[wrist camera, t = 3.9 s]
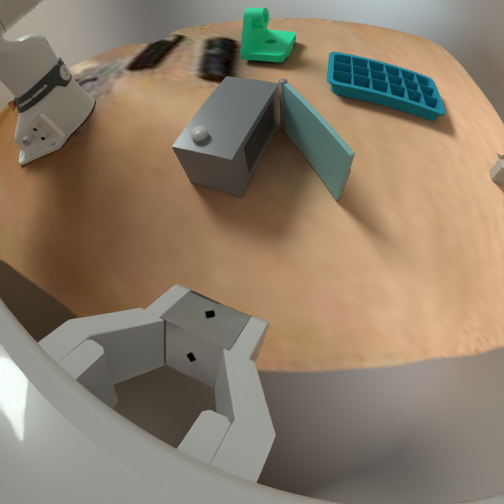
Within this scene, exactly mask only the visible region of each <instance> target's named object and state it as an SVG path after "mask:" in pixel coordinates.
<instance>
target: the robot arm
mask: <svg viewBox="0 0 504 504" xmlns="http://www.w3.org/2000/svg"><path fill="white" fill-rule="evenodd" d="M43 1H44V0H0V81H2V82H3V84H4V85H5V86H6V87H7V88H8V89H9V90H10V91H11V92H12V93H13V95H14V96H15V99H14V102H13V104H12V106H14V107H13V109H12V111H13V110H14V109H15V107H16V105H17V109H18V112H19V117H18V121H17V126H16V131H15V142H16V144H17V146H18V147H19V148H20V150H21V152H20V156H19V163H20V164H21V165H24V164H26V163H28V162H30V161H33V160H35V159H37V158H39V157H42V156H44V155H46V154H49V153H51V152H53V151H56V150H58V149H60V148H61V147H62V146H63V144H64V143H65V142H66V140H67V139H68V137H69V136H70V135H71V134H72V133H73V132H74V131H75V130H76V129H77V128H78V127H79V126H80V125H81V124H82V123H83V122H84V120H85V119H86V118H87V117H88V115H89V114H90V112H91V110H92V109H93V106H94V103H95V99H94V97H92V96H91V95H89V94H88V93H87V92H86V91H84V90H83V89H82V88H81V87H80V86H79V85H78V84H77V83H76V82H75V80H74V79H73V78H72V76H71V73H70V72H69V70H68V68H67V67H66V65H65V64H64V62H63V61H62V60H61V58H58V57H57V56H56V54H55V53H54V51H53V49H52V48H51V46H50V45H49V43H48V41H47V40H46V38H45V37H44V36H43V35H42V34H38V33H33V34H29V35H26V36H23V37H20V38H18V39H16V40H13V41H6V40H4V39H3V36H4V34H5V33H6V32H7V31H8V30H9V29H10V28H11V27H13V26H14V25H15V24H16V23H17V22H19V21H20V20H21V19H22V18H23V17H25V16H26V15H27V14H29V13H30V12H31V11H33V10H34V9H35V8H36V7H37V6H38V5H39V4H40V3H42V2H43ZM12 106H11V107H10V109H11V108H12ZM268 326H269V322H268V321H266V320H263V319H260V318H257V317H255V316H251V315H248V314H246V313H243V312H241V311H238V310H236V309H233V308H231V307H228V306H226V305H223V304H221V303H219V302H217V301H214V300H212V299H210V298H208V297H206V296H203V295H201V294H199V293H197V292H195V291H192V290H190V289H188V288H186V287H183V286H181V285H179V284H177V285H174V286H173V287H171V288H170V289H169V290H168V291H166V292H165V293H164V294H163V295H162V296H160V297H159V298H158V299H157V300H156V301H154V302H153V303H152V304H151V305H150V306H148V307H147V308H146V309H145V310H144V309H142V308H136V309H130V310H125V311H119V312H113V313H107V314H101V315H95V316H89V317H82V318H76V319H70V320H68V321H66V322H65V323H64V324H62V325H61V326H60V327H58V328H57V329H55V330H54V331H53V332H52V333H50V334H49V335H47V336H46V337H45V338H43V339H42V340H41V341H39V342H38V343H37V342H36V341H35V340H34V339H33V338H32V337H31V335H30V334H29V333H28V332H27V331H26V330H25V329H24V327H23V326H22V325H21V324H20V323H19V322H18V320H17V319H16V318H15V317H14V315H13V314H12V313H11V312H10V311H9V309H8V308H7V307H6V305H5V304H4V303H3V301H2V300H1V299H0V504H347V503H339V502H333V501H326V500H321V499H316V498H311V497H306V496H301V495H298V494H293V493H289V492H286V491H282V490H278V489H275V488H271V487H268V486H264V485H261V484H258V483H256V482H257V480H258V478H259V475H260V473H261V471H262V468H263V466H264V463H265V461H266V459H267V456H268V454H269V451H270V449H271V446H272V443H273V441H274V438H275V431H274V428H273V425H272V421H271V417H270V414H269V410H268V407H267V403H266V400H265V396H264V393H263V389H262V386H261V382H260V378H259V375H258V371H257V367H256V364H255V361H256V359H257V357H258V354H259V352H260V349H261V346H262V343H263V340H264V338H265V335H266V332H267V329H268ZM164 364H166V365H168V366H170V367H172V368H174V369H176V370H178V371H180V372H182V373H184V374H186V375H188V376H190V377H192V378H194V379H196V380H198V381H200V382H202V383H203V384H205V385H208V386H209V387H212V388H214V389H215V400H216V410H217V413H216V412H213V411H211V410H207V411H202V412H201V414H200V416H199V417H198V419H197V420H196V422H195V423H194V424H193V426H192V427H191V429H190V430H189V432H188V433H187V435H186V436H185V438H184V439H183V441H182V442H181V444H180V445H179V447H178V448H177V449H176V448H174V447H172V446H170V445H168V444H167V443H165V442H163V441H161V440H159V439H158V438H156V437H154V436H153V435H151V434H149V433H148V432H146V431H144V430H143V429H141V428H140V427H138V426H137V425H135V424H133V423H132V422H130V421H129V420H128V419H126V418H124V417H123V416H122V415H120V414H119V413H117V412H116V411H115V410H113V408H114V406H115V405H116V404H117V403H118V398H117V394H116V391H115V388H114V385H113V384H115V383H118V382H121V381H124V380H127V379H129V378H132V377H135V376H137V375H140V374H143V373H145V372H148V371H151V370H153V369H156V368H159V367H161V366H164ZM452 504H504V493H501V494H498V495H494V496H490V497H485V498H481V499H476V500H471V501H466V502H459V503H452Z"/></svg>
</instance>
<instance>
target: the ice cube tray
mask: <svg viewBox="0 0 504 504" xmlns="http://www.w3.org/2000/svg"><path fill="white" fill-rule="evenodd" d="M327 81H328V82H329V83H330V84H332V89H331V91H332V92H333V93H334V94H337V95H340V96H345V97H350V98H354V99H359V100H363V101H368V102H372V103H376V104H380V105H383V106H387V107H391V108H394V109H398V110H401V111H404V112H408V113H411V114H414V115H417V116H420V117H423V118H426V119H428V120H433V121H434V120H435V119H436V118H437V116H438V115H445V113H446V110H445V107H444V105H443V102H442V99H441V97H440V94H439V92H438V89H437V87H436V85H435V82H434V81H433V80H432V79H431V78H429V77H427V76H425V75H422V74H419V73H416V72H413V71H410V70H407V69H404V68H401V67H398V66H394V65H391V64H387V63H384V62H380V61H376V60H372V59H368V58H364V57H359V56H354V55H350V54H344V53H339V52H331V53H329V62H328V73H327Z"/></svg>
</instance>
